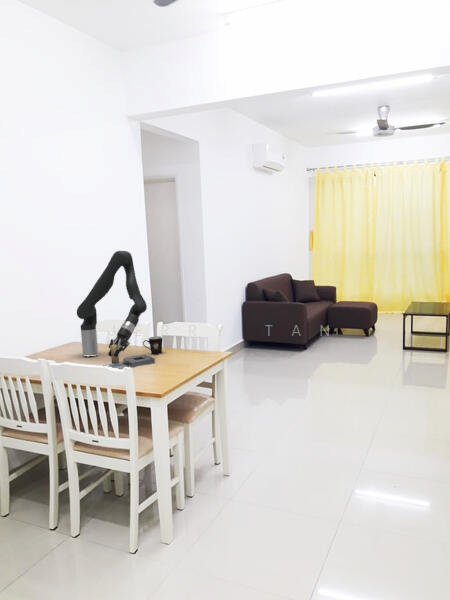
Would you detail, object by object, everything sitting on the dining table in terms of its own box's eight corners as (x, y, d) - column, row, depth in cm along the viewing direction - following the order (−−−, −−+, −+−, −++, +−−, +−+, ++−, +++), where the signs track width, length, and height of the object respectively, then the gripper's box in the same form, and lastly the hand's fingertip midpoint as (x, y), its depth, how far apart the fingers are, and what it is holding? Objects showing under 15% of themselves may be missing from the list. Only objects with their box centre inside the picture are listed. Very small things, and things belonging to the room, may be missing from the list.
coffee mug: (165, 352, 309) (164, 336, 308) (159, 355, 301) (158, 339, 299) (149, 351, 313) (148, 336, 311) (142, 354, 305) (141, 338, 303)
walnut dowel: (110, 362, 277) (109, 345, 276) (117, 361, 279) (116, 344, 278) (113, 364, 273) (111, 346, 272) (120, 363, 275) (118, 345, 274)
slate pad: (103, 366, 280) (103, 365, 280) (119, 363, 285) (119, 362, 285) (111, 370, 268) (110, 369, 268) (128, 367, 273) (128, 366, 273)
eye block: (123, 362, 286) (122, 358, 286) (145, 358, 293) (145, 354, 293) (131, 367, 274) (131, 362, 274) (154, 362, 281) (154, 358, 281)
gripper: (113, 326, 284) (99, 351, 275) (131, 327, 276) (117, 353, 267) (121, 333, 289) (107, 358, 280) (138, 335, 281) (124, 360, 272)
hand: (112, 355), depth 274 cm, fingers closed on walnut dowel, 4 cm apart
